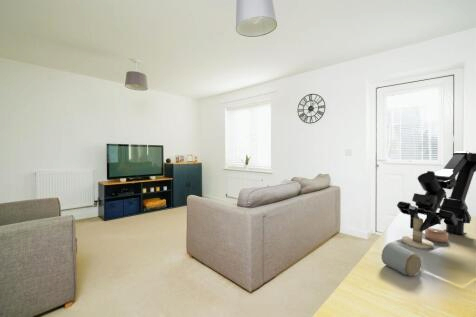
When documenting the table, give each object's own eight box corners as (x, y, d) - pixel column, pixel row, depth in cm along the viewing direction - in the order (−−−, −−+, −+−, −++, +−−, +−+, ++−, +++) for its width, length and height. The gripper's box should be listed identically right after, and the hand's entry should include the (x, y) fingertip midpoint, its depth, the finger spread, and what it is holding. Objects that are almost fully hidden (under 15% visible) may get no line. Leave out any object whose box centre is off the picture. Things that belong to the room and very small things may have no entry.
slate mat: (421, 233, 101) (421, 232, 101) (453, 243, 91) (453, 241, 91) (395, 242, 92) (395, 240, 92) (427, 253, 82) (427, 252, 82)
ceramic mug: (407, 280, 66) (408, 254, 66) (380, 266, 73) (381, 243, 73) (428, 273, 70) (430, 249, 70) (401, 260, 77) (402, 239, 77)
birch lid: (409, 236, 96) (410, 213, 96) (438, 245, 87) (439, 220, 87) (396, 241, 91) (397, 217, 91) (426, 251, 83) (427, 224, 82)
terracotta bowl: (430, 235, 98) (430, 227, 97) (451, 241, 91) (451, 232, 91) (421, 238, 94) (421, 229, 94) (442, 245, 88) (443, 235, 88)
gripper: (400, 182, 98) (383, 210, 94) (455, 190, 81) (437, 224, 77) (410, 198, 102) (394, 226, 98) (464, 209, 85) (448, 243, 81)
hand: (415, 229), depth 89 cm, fingers closed on birch lid, 3 cm apart
